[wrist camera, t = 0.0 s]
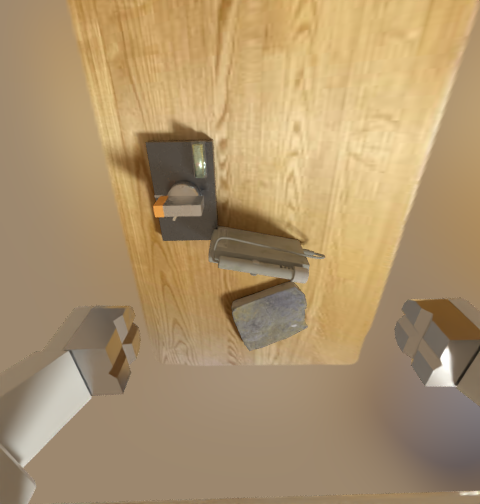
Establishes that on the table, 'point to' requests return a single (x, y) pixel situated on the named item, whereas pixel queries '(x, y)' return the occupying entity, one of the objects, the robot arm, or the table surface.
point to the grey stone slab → (270, 315)
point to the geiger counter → (260, 254)
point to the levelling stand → (185, 169)
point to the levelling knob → (180, 201)
